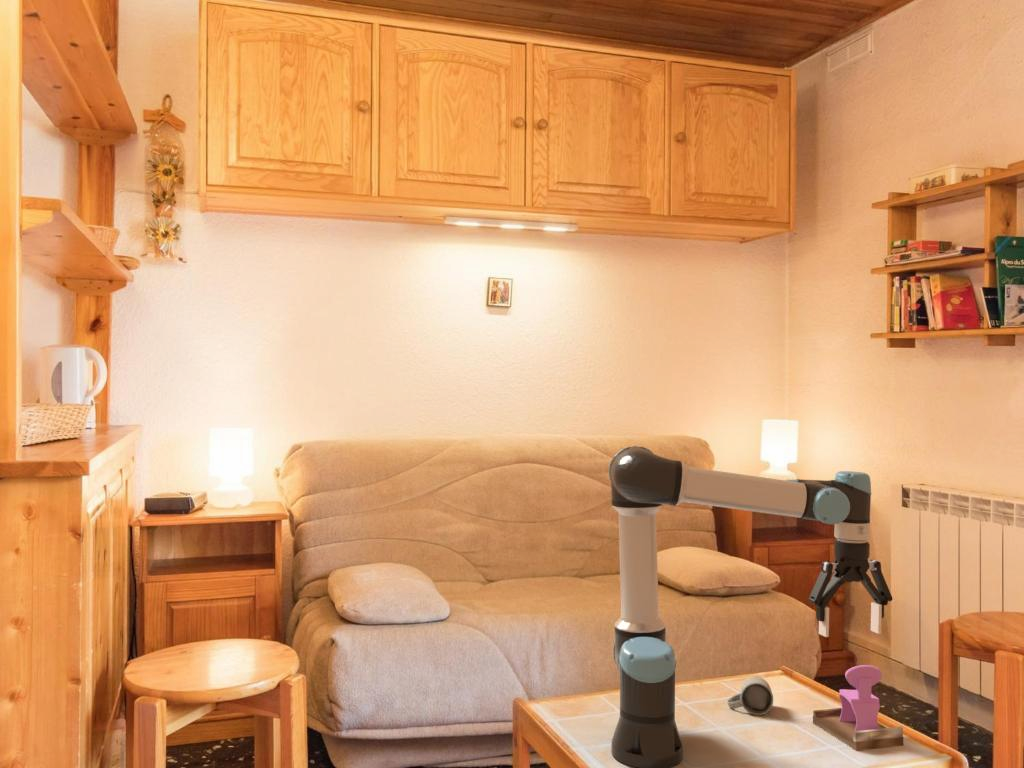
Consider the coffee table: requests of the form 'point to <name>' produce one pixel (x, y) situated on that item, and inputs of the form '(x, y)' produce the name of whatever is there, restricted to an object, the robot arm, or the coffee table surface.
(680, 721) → the coffee table surface
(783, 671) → the coffee table surface
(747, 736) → the coffee table surface
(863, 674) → the toy chair
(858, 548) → the robot arm
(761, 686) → the ceramic mug
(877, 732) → the shelf board
